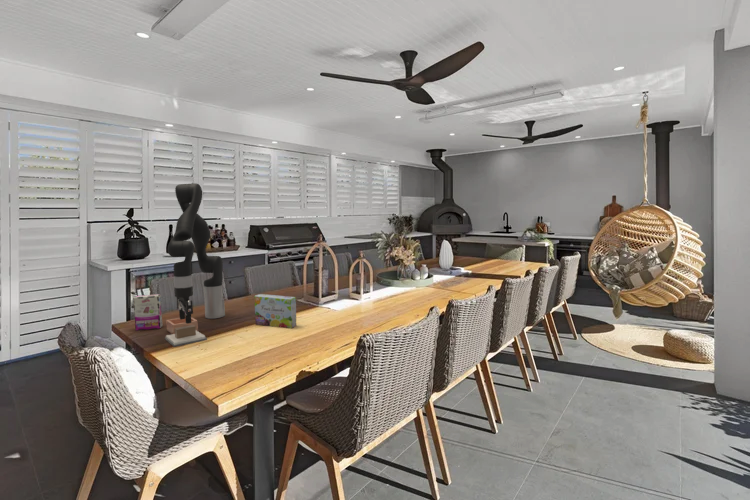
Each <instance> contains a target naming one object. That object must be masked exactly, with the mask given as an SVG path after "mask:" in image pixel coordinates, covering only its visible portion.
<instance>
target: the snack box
mask: <svg viewBox="0 0 750 500" xmlns="http://www.w3.org/2000/svg"><path fill="white" fill-rule="evenodd" d="M253 297H254V298H253V299H254V301H253V302H254V320H255V321H254V322H255V325H258V326H267V327H274V328H276V327H277V328H282V329H283V328H284V329H290V330H291V329H293V328H295V327H296V326H297V302H296V301H297V297H296V296H287V295H285V296H284V295H277V294H276V295H275V294H267V293H265V294H263V293H258V294H256V295H254V296H253Z"/></svg>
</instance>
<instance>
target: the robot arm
mask: <svg viewBox="0 0 750 500" xmlns="http://www.w3.org/2000/svg"><path fill="white" fill-rule="evenodd" d="M174 193H175V196H176V199H177V201H178V202H177V203H178V204H179V207H180V209H181V211H182V214H181V215H180V216H179V217H178V218H177V221H176V226H175V232H174V234H173V236H172V237H171V239H170V241H169V243H168V245H167V254H168V255H169V256H171V257H173V258H184V260H182V261H179V262H178V261H177V262H175V263H173V289H174V291H173V292H174V298H176V310H177V311H178V313H179V314H178V315H179V318H180V319H181V320H182V319H185V318H186V323H187V324H188V323H191V317H192V315H193V314H194V308H193V300H191V299H190V297H192V296H193V295H194V285H193V284H194V283H193V277H192V261H193V257H194V252H195V254H196V259H197V261H198V266H199V269H200V271H201V272H202V273H205V274H212V277H211V278H207V279H205V280H204V281H203V293H204V295H203V296H204V298H203V299H204V315H205V316H204V317H205V319H210V320H211V319H220V318H223V317H226V312H225V311H226V310H225V307H226V306H225V298H223V297H224V295H223V278H224V277H223V274H224V273H223V272H224V271H223V269H224V267H223V266H224V264H223V263H224V262H223V259H222V257H221V256H219V255H207V250H206V249H207V245H208V243H209V241H210V238H211V231H210V228H209V227H210V226H209V224H208V223H207V221H206V219H204V218H203V217H202V216H201V215H199V213H198V212H199V209H200V205H201V203H202V200H203V189H202V187H201V185H200V184H199V183H182V184H177V185H176V186H175V190H174ZM190 239H191V240H192V241H190Z"/></svg>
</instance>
